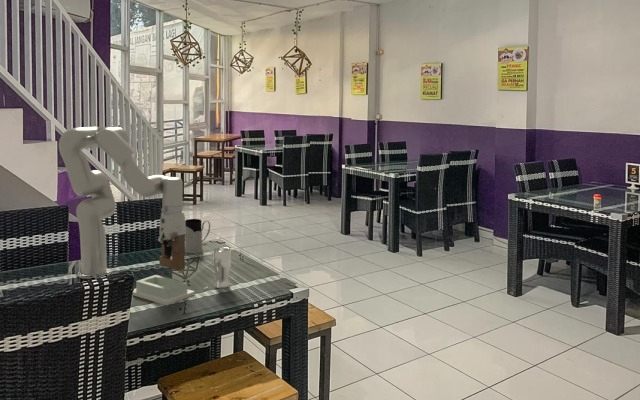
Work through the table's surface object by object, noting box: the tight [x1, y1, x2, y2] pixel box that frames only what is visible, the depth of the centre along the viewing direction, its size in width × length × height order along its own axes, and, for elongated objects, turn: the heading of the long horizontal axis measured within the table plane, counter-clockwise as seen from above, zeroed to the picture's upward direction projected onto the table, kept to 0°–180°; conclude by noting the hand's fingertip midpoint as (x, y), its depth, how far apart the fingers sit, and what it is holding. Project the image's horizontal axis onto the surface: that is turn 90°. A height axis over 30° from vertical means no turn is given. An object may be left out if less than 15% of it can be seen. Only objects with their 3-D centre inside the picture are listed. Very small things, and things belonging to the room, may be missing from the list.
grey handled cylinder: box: [184, 218, 211, 254], centre depth 264 cm, size 9×14×15 cm, turn 140°
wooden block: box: [158, 234, 186, 271], centre depth 215 cm, size 4×11×18 cm, turn 58°
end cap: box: [132, 274, 196, 306], centre depth 204 cm, size 20×14×5 cm
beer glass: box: [212, 246, 232, 289], centre depth 214 cm, size 7×7×15 cm
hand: (172, 254), depth 216 cm, fingers closed on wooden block, 3 cm apart
